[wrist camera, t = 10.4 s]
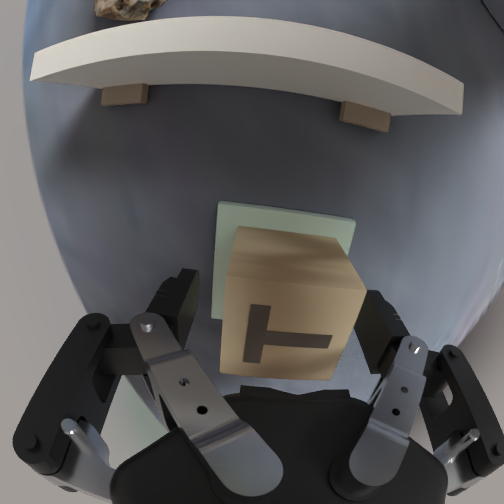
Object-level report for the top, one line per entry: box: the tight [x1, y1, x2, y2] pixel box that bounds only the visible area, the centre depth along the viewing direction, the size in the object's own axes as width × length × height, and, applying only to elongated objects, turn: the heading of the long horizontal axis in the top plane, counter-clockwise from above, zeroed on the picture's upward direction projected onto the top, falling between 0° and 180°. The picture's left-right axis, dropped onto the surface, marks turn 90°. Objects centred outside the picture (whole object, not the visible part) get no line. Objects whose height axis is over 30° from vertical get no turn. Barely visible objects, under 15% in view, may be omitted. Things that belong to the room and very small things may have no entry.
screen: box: [30, 16, 464, 133], centre depth 8 cm, size 15×3×6 cm, turn 83°
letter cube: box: [220, 226, 367, 380], centre depth 12 cm, size 5×5×5 cm
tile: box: [211, 201, 356, 320], centre depth 15 cm, size 7×7×1 cm
